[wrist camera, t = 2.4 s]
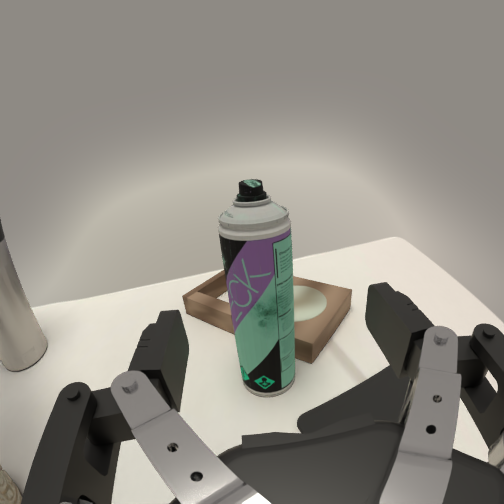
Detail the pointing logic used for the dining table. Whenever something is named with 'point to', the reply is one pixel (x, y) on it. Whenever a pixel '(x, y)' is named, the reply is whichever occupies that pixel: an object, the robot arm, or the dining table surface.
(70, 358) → the dining table surface
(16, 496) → the carving
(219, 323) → the walnut tray
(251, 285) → the spray can
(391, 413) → the phone
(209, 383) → the dining table surface
